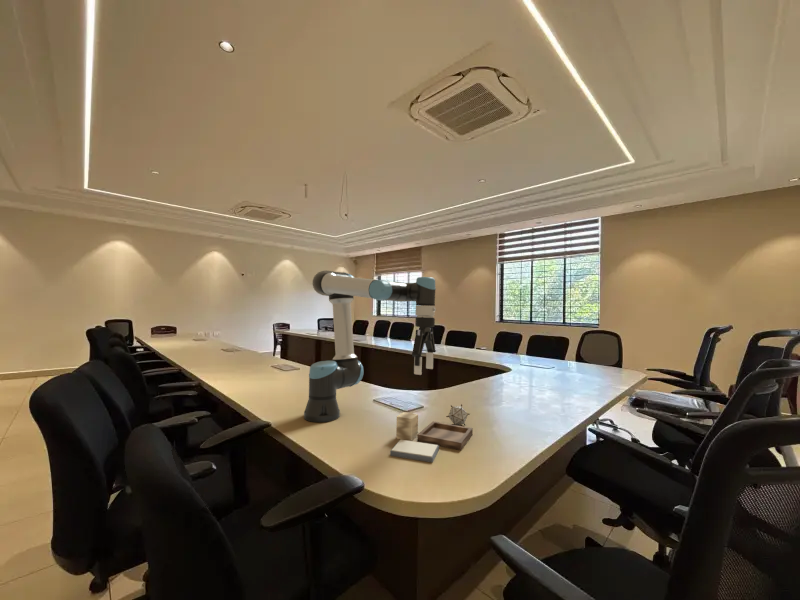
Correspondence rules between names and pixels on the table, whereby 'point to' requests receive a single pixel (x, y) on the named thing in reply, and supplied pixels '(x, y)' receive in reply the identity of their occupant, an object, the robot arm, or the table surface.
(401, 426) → the beech block
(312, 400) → the robot arm
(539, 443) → the table surface
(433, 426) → the walnut tray
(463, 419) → the game die
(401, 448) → the white grey flat slab
